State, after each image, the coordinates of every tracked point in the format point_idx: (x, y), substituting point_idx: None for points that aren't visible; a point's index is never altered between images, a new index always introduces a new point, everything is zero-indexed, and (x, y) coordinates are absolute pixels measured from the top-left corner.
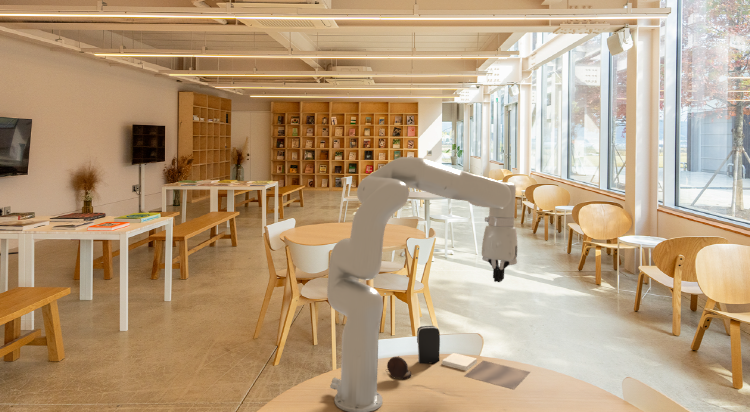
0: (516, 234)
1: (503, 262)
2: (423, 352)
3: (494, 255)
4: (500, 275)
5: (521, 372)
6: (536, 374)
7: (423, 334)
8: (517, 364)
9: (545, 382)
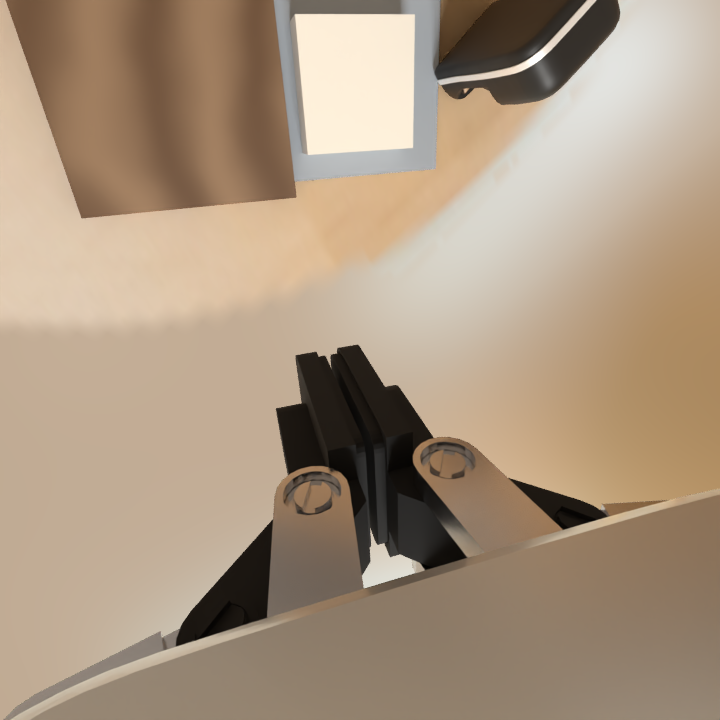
0: None
1: (285, 604)
2: (510, 2)
3: (601, 646)
4: (307, 424)
5: (104, 184)
6: (87, 257)
7: None
8: (201, 296)
9: (2, 203)
